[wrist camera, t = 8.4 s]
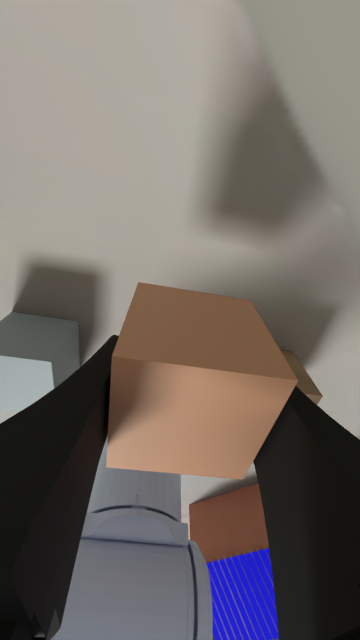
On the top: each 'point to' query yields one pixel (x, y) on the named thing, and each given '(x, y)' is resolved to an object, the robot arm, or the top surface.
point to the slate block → (35, 357)
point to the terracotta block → (193, 384)
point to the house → (237, 564)
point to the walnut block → (302, 377)
